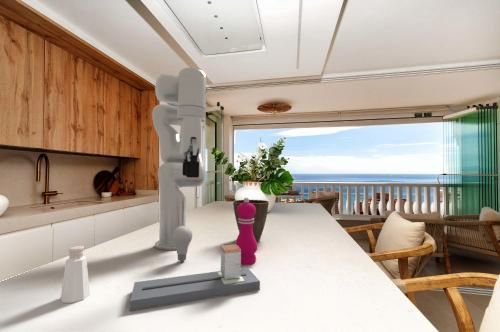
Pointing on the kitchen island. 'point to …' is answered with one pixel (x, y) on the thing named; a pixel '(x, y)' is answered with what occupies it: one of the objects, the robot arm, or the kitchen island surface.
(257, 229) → the plant pot
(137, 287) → the fader panel
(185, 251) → the lightbulb
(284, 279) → the kitchen island surface
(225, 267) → the fader knob
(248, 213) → the pepper mill
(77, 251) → the pepper shaker
